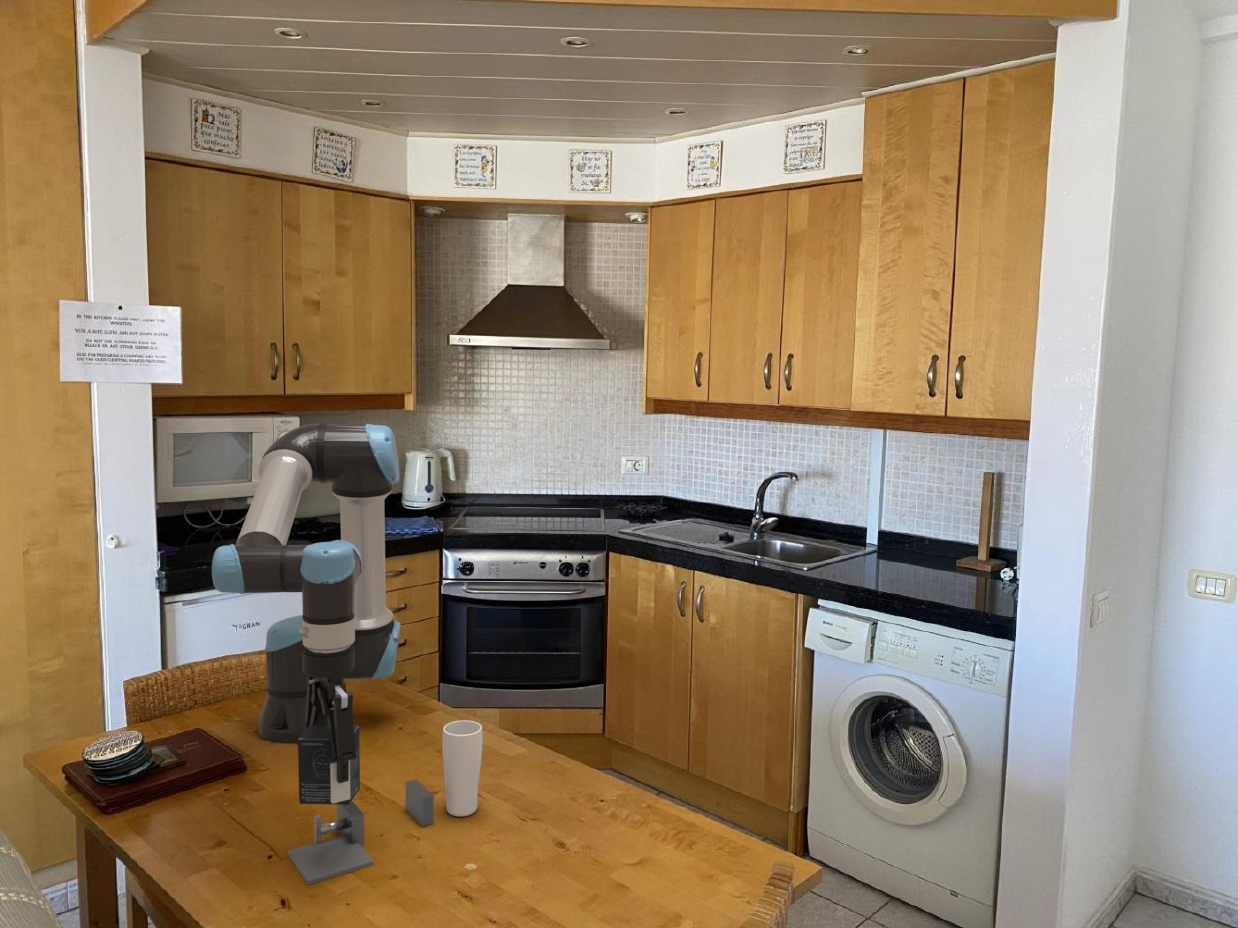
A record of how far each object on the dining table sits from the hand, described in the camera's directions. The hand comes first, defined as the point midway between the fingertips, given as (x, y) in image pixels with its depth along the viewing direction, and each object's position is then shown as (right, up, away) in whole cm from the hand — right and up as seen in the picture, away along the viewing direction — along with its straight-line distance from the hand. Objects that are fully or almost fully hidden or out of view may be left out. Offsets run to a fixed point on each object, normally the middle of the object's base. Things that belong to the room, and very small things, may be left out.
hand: (329, 787), depth 141 cm
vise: (+4, -11, +11) cm, 16 cm away
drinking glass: (+17, -10, +18) cm, 27 cm away
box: (0, -2, 0) cm, 2 cm away
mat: (0, -12, +1) cm, 12 cm away
